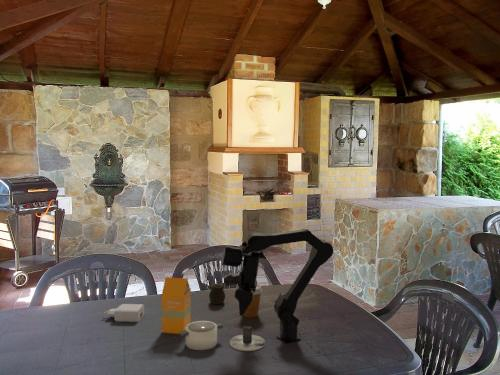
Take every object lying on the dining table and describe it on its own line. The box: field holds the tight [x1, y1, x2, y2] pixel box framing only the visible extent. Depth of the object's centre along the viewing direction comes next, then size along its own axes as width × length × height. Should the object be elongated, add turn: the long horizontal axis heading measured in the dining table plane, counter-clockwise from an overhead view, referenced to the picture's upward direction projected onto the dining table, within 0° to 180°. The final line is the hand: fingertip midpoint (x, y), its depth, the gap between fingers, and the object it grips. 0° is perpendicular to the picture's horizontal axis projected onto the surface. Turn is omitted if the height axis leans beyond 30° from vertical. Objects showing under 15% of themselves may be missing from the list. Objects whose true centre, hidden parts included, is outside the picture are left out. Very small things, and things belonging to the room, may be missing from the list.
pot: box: [178, 320, 224, 351], centre depth 160 cm, size 11×16×6 cm
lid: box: [229, 325, 266, 352], centre depth 161 cm, size 12×12×6 cm
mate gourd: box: [208, 282, 226, 305], centre depth 202 cm, size 7×8×10 cm
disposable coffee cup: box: [242, 283, 263, 318], centre depth 188 cm, size 10×10×12 cm
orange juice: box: [161, 276, 192, 335], centre depth 172 cm, size 8×9×20 cm
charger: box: [103, 303, 145, 323], centre depth 184 cm, size 5×9×15 cm
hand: (242, 311), depth 162 cm, fingers open, 9 cm apart
